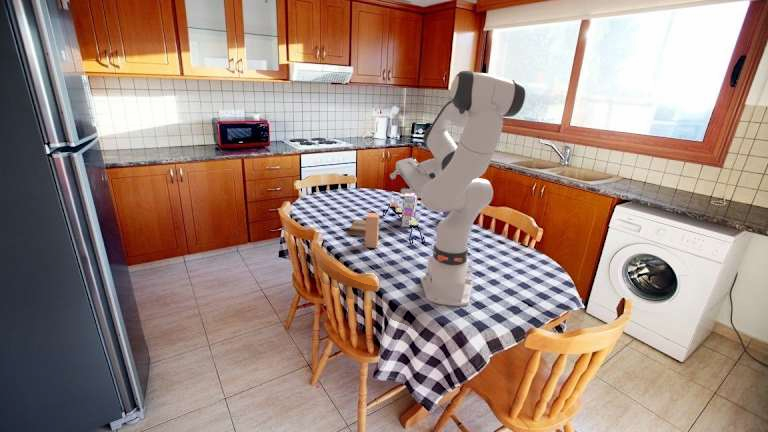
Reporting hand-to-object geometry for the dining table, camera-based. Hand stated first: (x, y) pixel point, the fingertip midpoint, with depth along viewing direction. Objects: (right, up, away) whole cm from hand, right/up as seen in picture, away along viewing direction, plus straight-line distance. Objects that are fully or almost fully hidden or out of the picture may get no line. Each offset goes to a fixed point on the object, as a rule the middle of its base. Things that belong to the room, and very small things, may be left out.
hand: (396, 184), depth 152 cm
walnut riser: (-14, -20, +28) cm, 37 cm away
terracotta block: (-10, -26, +13) cm, 30 cm away
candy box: (+8, -17, +41) cm, 45 cm away
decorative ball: (+33, -16, +46) cm, 59 cm away
